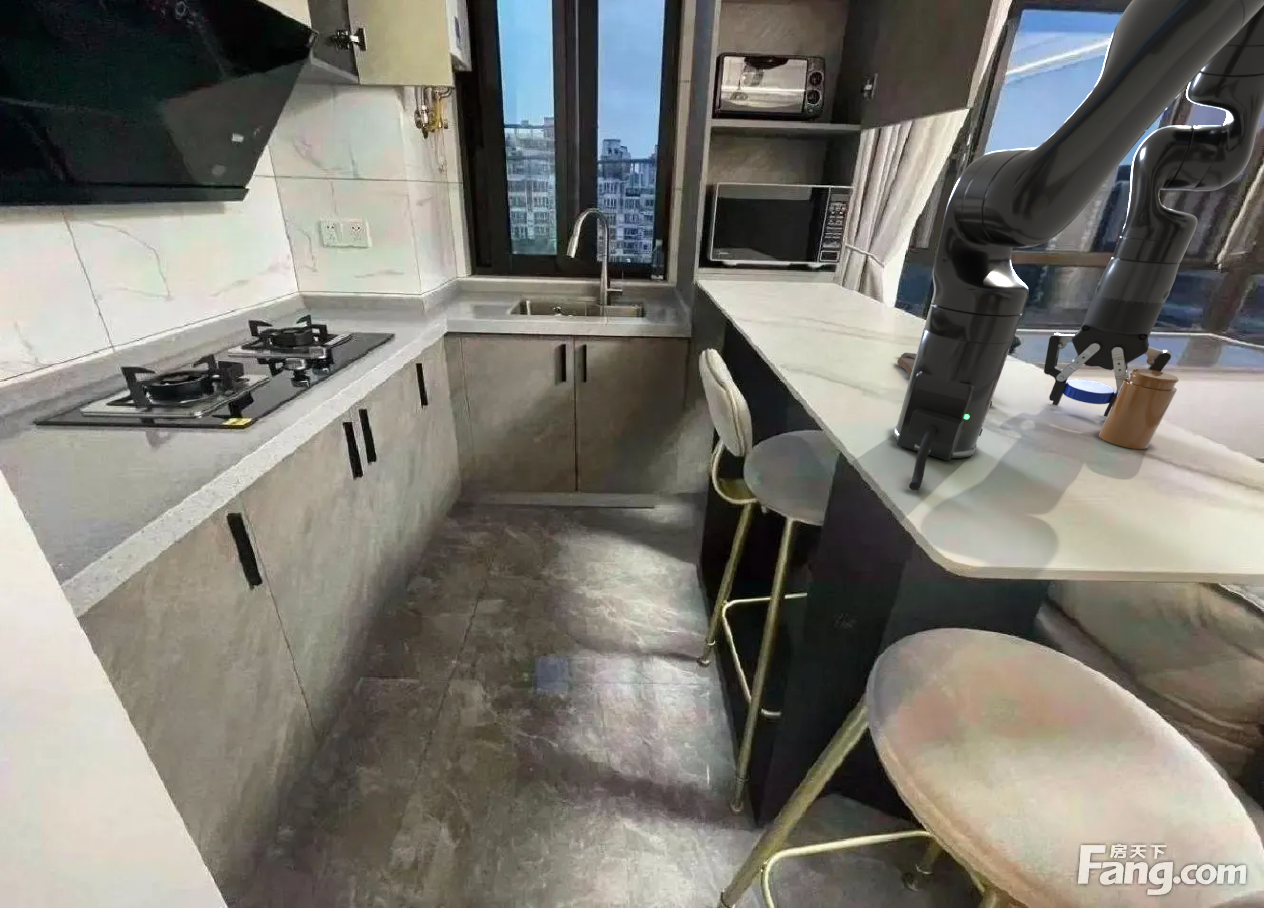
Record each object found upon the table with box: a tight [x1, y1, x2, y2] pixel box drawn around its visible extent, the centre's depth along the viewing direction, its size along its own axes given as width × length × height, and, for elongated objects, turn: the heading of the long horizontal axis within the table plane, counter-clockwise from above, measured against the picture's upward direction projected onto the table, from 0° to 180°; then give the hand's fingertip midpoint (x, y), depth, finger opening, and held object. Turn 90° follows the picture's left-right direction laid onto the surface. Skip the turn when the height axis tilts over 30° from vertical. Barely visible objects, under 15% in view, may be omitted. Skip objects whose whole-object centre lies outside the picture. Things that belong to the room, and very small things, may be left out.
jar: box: [1098, 368, 1179, 450], centre depth 71 cm, size 5×5×9 cm
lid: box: [1063, 378, 1116, 405], centre depth 80 cm, size 6×6×2 cm
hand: (1080, 409), depth 81 cm, fingers closed on lid, 5 cm apart
